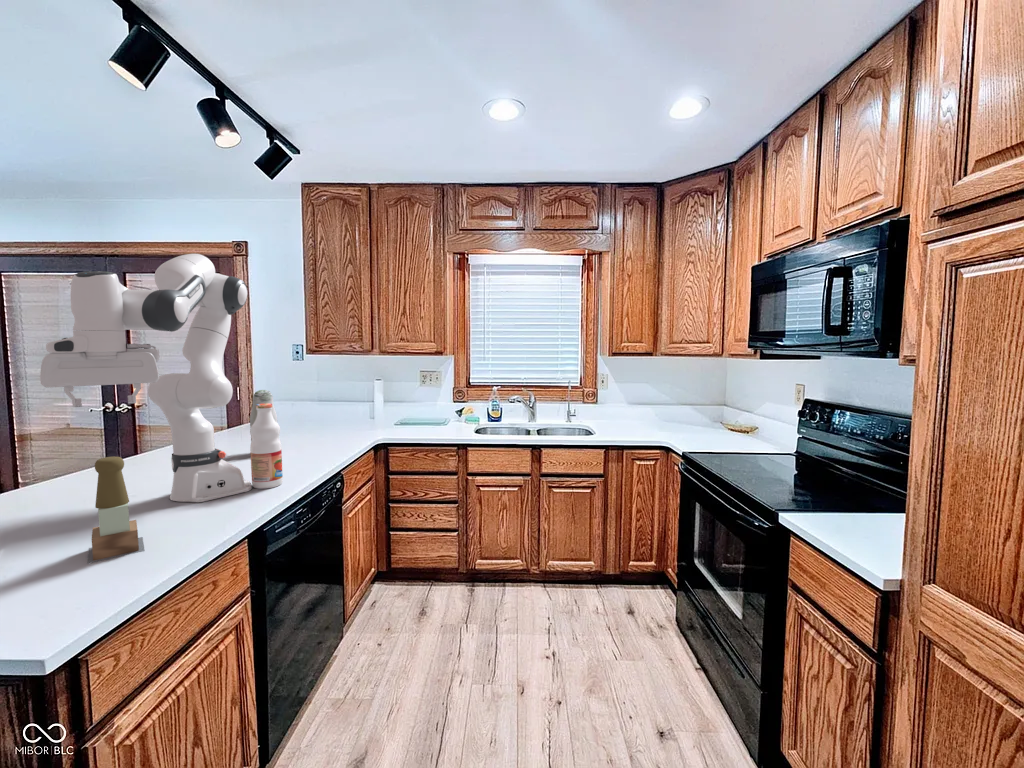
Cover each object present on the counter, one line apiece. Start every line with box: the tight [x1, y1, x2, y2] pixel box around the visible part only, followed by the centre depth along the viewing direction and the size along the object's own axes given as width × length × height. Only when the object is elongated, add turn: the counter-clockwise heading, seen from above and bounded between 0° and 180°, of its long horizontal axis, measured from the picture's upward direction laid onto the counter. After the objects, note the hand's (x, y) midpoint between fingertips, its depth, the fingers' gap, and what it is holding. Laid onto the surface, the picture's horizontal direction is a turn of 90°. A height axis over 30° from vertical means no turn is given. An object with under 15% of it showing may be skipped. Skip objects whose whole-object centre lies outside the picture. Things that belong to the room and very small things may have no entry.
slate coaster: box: [86, 536, 145, 565], centre depth 111 cm, size 10×10×1 cm
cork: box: [94, 456, 130, 509], centre depth 109 cm, size 6×6×11 cm
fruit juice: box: [249, 403, 284, 490], centre depth 161 cm, size 9×9×28 cm
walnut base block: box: [91, 519, 139, 561], centre depth 110 cm, size 8×8×5 cm
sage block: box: [97, 502, 130, 536], centre depth 110 cm, size 5×7×6 cm
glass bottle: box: [249, 389, 278, 443], centre depth 204 cm, size 10×10×28 cm
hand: (105, 404), depth 107 cm, fingers open, 8 cm apart
